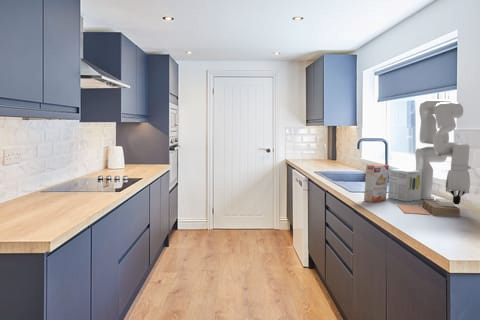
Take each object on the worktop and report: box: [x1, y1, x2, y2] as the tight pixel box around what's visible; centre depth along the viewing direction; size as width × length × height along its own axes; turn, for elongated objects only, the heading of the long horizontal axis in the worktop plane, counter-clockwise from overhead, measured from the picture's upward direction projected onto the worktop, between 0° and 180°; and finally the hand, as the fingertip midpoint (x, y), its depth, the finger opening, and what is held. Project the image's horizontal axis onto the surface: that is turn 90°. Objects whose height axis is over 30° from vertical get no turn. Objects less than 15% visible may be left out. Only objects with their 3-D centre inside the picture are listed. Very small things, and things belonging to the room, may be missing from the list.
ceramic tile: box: [435, 198, 455, 206], centre depth 198 cm, size 9×6×2 cm, turn 168°
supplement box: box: [387, 168, 422, 202], centre depth 233 cm, size 13×13×18 cm
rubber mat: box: [396, 204, 431, 216], centre depth 202 cm, size 20×12×1 cm, turn 168°
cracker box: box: [363, 163, 390, 203], centre depth 224 cm, size 14×6×21 cm, turn 126°
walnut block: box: [421, 199, 461, 218], centre depth 199 cm, size 20×12×4 cm, turn 168°
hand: (456, 203), depth 197 cm, fingers closed
